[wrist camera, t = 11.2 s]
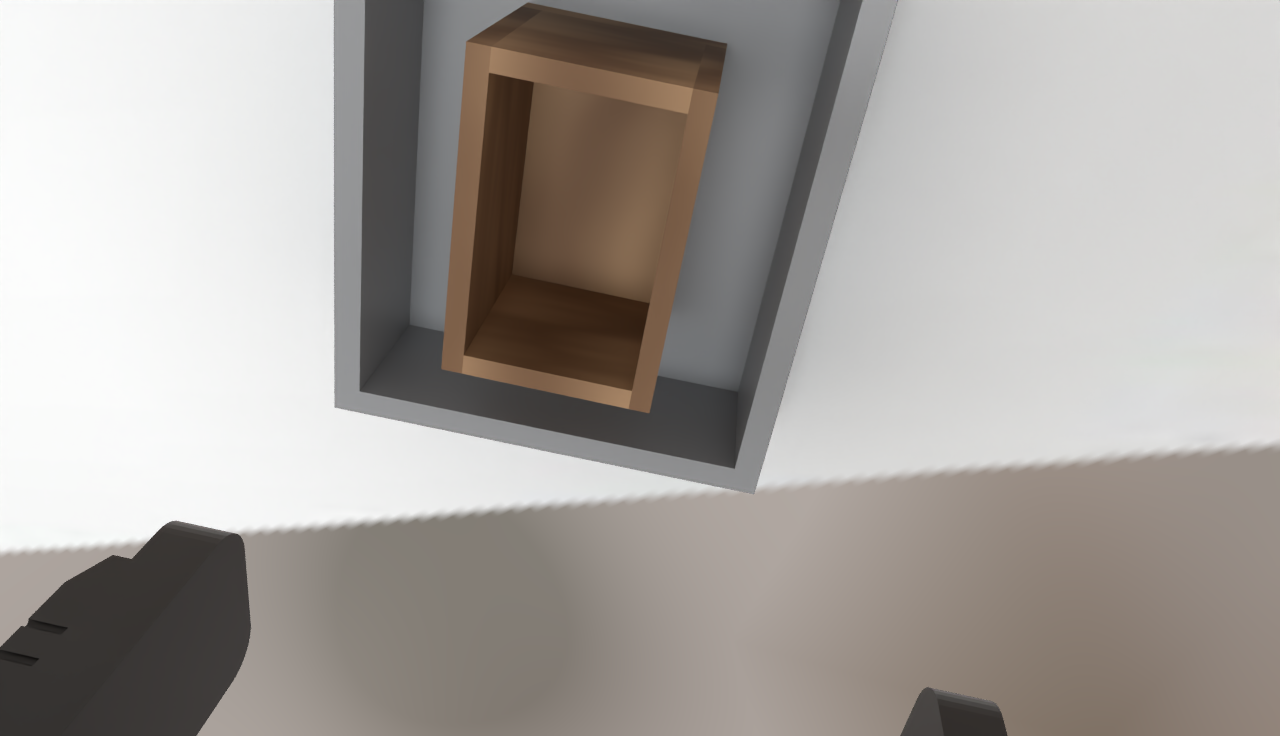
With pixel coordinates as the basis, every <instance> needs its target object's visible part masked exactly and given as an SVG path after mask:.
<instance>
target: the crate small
mask: <svg viewBox="0 0 1280 736" xmlns="http://www.w3.org/2000/svg"><path fill="white" fill-rule="evenodd" d="M726 49H727V43H722V42H717V41H712V40H707V39H702V38H698V37H693V36H688V35H683V34H678V33H673V32H669V31H664V30H659V29H654V28H649V27H644V26H640V25H635V24H630V23H625V22H620V21H615V20H611V19H606V18H601V17H596V16H591V15H586V14H582V13H577V12H572V11H567V10H562V9H557V8H553V7H548V6H543V5H538V4H533V3H526V4H525V5H523V6H521V7H520V8H518V9H517V10H515V11H513V12H512V13H510V14H509V15H507V16H506V17H504V18H502V19H501V20H499V21H498V22H496V23H494V24H493V25H491V26H490V27H488V28H487V29H485V30H483V31H482V32H480V33H479V34H477V35H475V36H474V37H472V38H471V39H469V40H467V41H466V49H465V63H464V76H463V89H462V102H461V115H460V128H459V142H458V155H457V168H456V181H455V194H454V207H453V221H452V234H451V247H450V260H449V273H448V287H447V300H446V313H445V326H444V339H443V352H442V366H441V369H443V370H447V371H452V372H457V373H462V374H466V375H471V376H476V377H480V378H485V379H490V380H494V381H499V382H504V383H509V384H513V385H518V386H523V387H527V388H532V389H537V390H541V391H546V392H551V393H556V394H560V395H565V396H570V397H574V398H579V399H584V400H588V401H593V402H598V403H603V404H607V405H612V406H617V407H621V408H626V409H631V410H635V411H640V412H645V413H650V408H651V403H652V399H653V394H654V389H655V385H656V380H657V376H658V371H659V366H660V362H661V357H662V352H663V348H664V343H665V339H666V334H667V329H668V325H669V320H670V315H671V311H672V306H673V302H674V297H675V292H676V288H677V283H678V278H679V274H680V269H681V265H682V260H683V255H684V251H685V246H686V242H687V237H688V232H689V228H690V223H691V218H692V214H693V209H694V205H695V200H696V195H697V191H698V186H699V181H700V177H701V172H702V168H703V163H704V158H705V154H706V149H707V144H708V140H709V135H710V131H711V126H712V121H713V117H714V112H715V107H716V103H717V98H718V94H719V88H720V82H721V77H722V71H723V66H724V60H725V55H726Z"/></svg>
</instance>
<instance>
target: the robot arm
mask: <svg viewBox="0 0 1280 736" xmlns="http://www.w3.org/2000/svg"><path fill="white" fill-rule="evenodd" d="M247 586H248V585H247V574H246V561H245V549H244V543H243V540H242V538H241V537H240V536H239V535H238V534H235V533H230V532H226V531H221V530H216V529H212V528H207V527H203V526H198V525H193V524H189V523H184V522H180V521H171V522H169V523H167V524H166V525H164V526H163V527H162V528H161V529H160V530H159V531H158V532H157V533H156V534H155V535H154V536H153V537H152V538H151V539H150V540H149V541H148V542H147V543H146V544H145V546H144V547H143V548H142V549H141V550H140V551H139V552H138V553H137V554H136V555H135V556H134V557H133V558H132V559H129V558H124V557H119V556H114V555H112V556H110V557H109V558H107V559H105V560H103V561H102V562H100V563H98V564H96V565H95V566H93V567H91V568H89V569H88V570H86V571H84V572H82V573H80V574H79V575H77V576H75V577H73V578H72V579H70V580H68V581H66V582H65V583H64V584H63V585H62V586H61V587H60V588H59V589H58V590H57V591H56V592H55V593H54V594H53V595H52V596H51V597H50V598H49V599H48V600H47V601H46V602H45V603H44V604H43V605H42V606H41V607H40V608H39V609H38V610H37V611H36V612H35V613H34V614H33V615H32V616H31V617H30V618H29V621H28V624H27V625H26V626H25V627H23V626H21V627H20V628H19V629H18V630H17V631H16V632H15V633H14V634H13V635H12V636H11V637H10V638H9V639H8V640H7V641H6V642H5V643H4V644H3V645H2V646H1V647H0V736H196V735H197V734H198V732H199V731H200V729H201V728H202V726H203V725H204V724H205V722H206V720H207V719H208V718H209V716H210V714H211V713H212V711H213V710H214V709H215V707H216V706H217V704H218V703H219V701H220V700H221V698H222V696H223V695H224V694H225V692H226V691H227V689H228V688H229V686H230V685H231V683H232V682H233V680H234V678H235V677H236V675H237V673H238V671H239V669H240V667H241V665H242V662H243V660H244V657H245V654H246V651H247V647H248V643H249V638H250V630H251V623H250V610H249V598H248V587H247ZM901 736H1007V732H1006V729H1005V724H1004V721H1003V717H1002V714H1001V711H1000V709H999V707H998V706H997V705H996V703H994V702H992V701H988V700H984V699H979V698H974V697H970V696H965V695H961V694H956V693H951V692H947V691H942V690H938V689H933V688H928V687H927V688H925V689H924V690H922V692H921V693H920V695H919V697H918V698H917V701H916V703H915V705H914V707H913V709H912V711H911V714H910V716H909V718H908V720H907V722H906V725H905V727H904V729H903V731H902V733H901Z"/></svg>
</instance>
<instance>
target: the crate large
mask: <svg viewBox="0 0 1280 736" xmlns="http://www.w3.org/2000/svg"><path fill="white" fill-rule="evenodd" d="M897 2H898V0H334V325H335V408H340V409H345V410H350V411H355V412H359V413H364V414H369V415H374V416H379V417H384V418H388V419H393V420H398V421H403V422H408V423H413V424H417V425H422V426H427V427H432V428H437V429H442V430H446V431H451V432H456V433H461V434H466V435H471V436H475V437H480V438H485V439H490V440H495V441H500V442H504V443H509V444H514V445H519V446H524V447H529V448H533V449H538V450H543V451H548V452H553V453H558V454H562V455H567V456H572V457H577V458H582V459H587V460H591V461H596V462H601V463H606V464H611V465H616V466H620V467H625V468H630V469H635V470H640V471H645V472H649V473H654V474H659V475H664V476H669V477H673V478H678V479H683V480H688V481H693V482H698V483H702V484H707V485H712V486H717V487H722V488H727V489H731V490H736V491H741V492H746V493H751V494H754V493H755V489H756V486H757V482H758V479H759V475H760V472H761V469H762V465H763V462H764V458H765V455H766V451H767V448H768V445H769V441H770V438H771V434H772V431H773V427H774V424H775V421H776V417H777V414H778V410H779V407H780V403H781V400H782V397H783V393H784V390H785V386H786V383H787V379H788V376H789V373H790V369H791V366H792V362H793V359H794V355H795V352H796V349H797V345H798V342H799V338H800V335H801V331H802V328H803V325H804V321H805V318H806V314H807V311H808V307H809V304H810V301H811V297H812V294H813V290H814V287H815V283H816V280H817V277H818V273H819V270H820V266H821V263H822V259H823V256H824V253H825V249H826V246H827V242H828V239H829V235H830V232H831V229H832V225H833V222H834V218H835V215H836V211H837V208H838V205H839V201H840V198H841V194H842V191H843V187H844V184H845V181H846V177H847V174H848V170H849V167H850V163H851V160H852V157H853V153H854V150H855V146H856V143H857V139H858V136H859V133H860V129H861V126H862V122H863V119H864V115H865V112H866V109H867V105H868V102H869V98H870V95H871V91H872V88H873V85H874V81H875V78H876V74H877V71H878V67H879V64H880V61H881V57H882V54H883V50H884V47H885V43H886V40H887V37H888V33H889V30H890V26H891V23H892V19H893V16H894V13H895V9H896V6H897ZM526 3H533V4H538V5H543V6H548V7H553V8H557V9H562V10H567V11H572V12H577V13H582V14H586V15H591V16H596V17H601V18H606V19H611V20H615V21H620V22H625V23H630V24H635V25H640V26H644V27H649V28H654V29H659V30H664V31H669V32H673V33H678V34H683V35H688V36H693V37H698V38H702V39H707V40H712V41H717V42H722V43H727V49H726V55H725V60H724V66H723V71H722V77H721V82H720V88H719V94H718V98H717V103H716V107H715V112H714V117H713V121H712V126H711V131H710V135H709V140H708V144H707V149H706V154H705V158H704V163H703V168H702V172H701V177H700V181H699V186H698V191H697V195H696V200H695V205H694V209H693V214H692V218H691V223H690V228H689V232H688V237H687V242H686V246H685V251H684V255H683V260H682V265H681V269H680V274H679V278H678V283H677V288H676V292H675V297H674V302H673V306H672V311H671V315H670V320H669V325H668V329H667V334H666V339H665V343H664V348H663V352H662V357H661V362H660V366H659V371H658V376H657V380H656V385H655V389H654V394H653V399H652V403H651V408H650V413H645V412H640V411H635V410H631V409H626V408H621V407H617V406H612V405H607V404H603V403H598V402H593V401H588V400H584V399H579V398H574V397H570V396H565V395H560V394H556V393H551V392H546V391H541V390H537V389H532V388H527V387H523V386H518V385H513V384H509V383H504V382H499V381H494V380H490V379H485V378H480V377H476V376H471V375H466V374H462V373H457V372H452V371H447V370H443V369H441V366H442V352H443V339H444V326H445V313H446V300H447V287H448V273H449V260H450V247H451V234H452V221H453V207H454V194H455V181H456V168H457V155H458V142H459V128H460V115H461V102H462V89H463V76H464V63H465V49H466V41H467V40H469V39H471V38H472V37H474V36H475V35H477V34H479V33H480V32H482V31H483V30H485V29H487V28H488V27H490V26H491V25H493V24H494V23H496V22H498V21H499V20H501V19H502V18H504V17H506V16H507V15H509V14H510V13H512V12H513V11H515V10H517V9H518V8H520V7H521V6H523V5H525V4H526Z"/></svg>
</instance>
